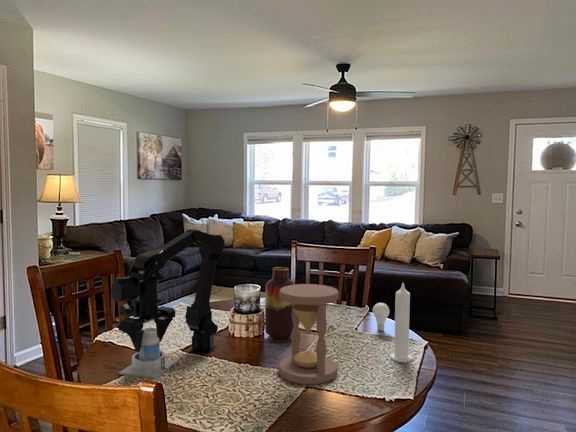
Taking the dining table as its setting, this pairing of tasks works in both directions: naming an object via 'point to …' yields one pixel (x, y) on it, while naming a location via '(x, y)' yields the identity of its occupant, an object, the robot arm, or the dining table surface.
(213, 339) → the robot arm
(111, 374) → the dining table surface
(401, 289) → the candle
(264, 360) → the dining table surface
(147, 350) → the pill bottle
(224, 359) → the dining table surface
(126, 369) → the duct collar
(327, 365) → the hourglass
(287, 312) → the vase
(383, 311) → the lightbulb
